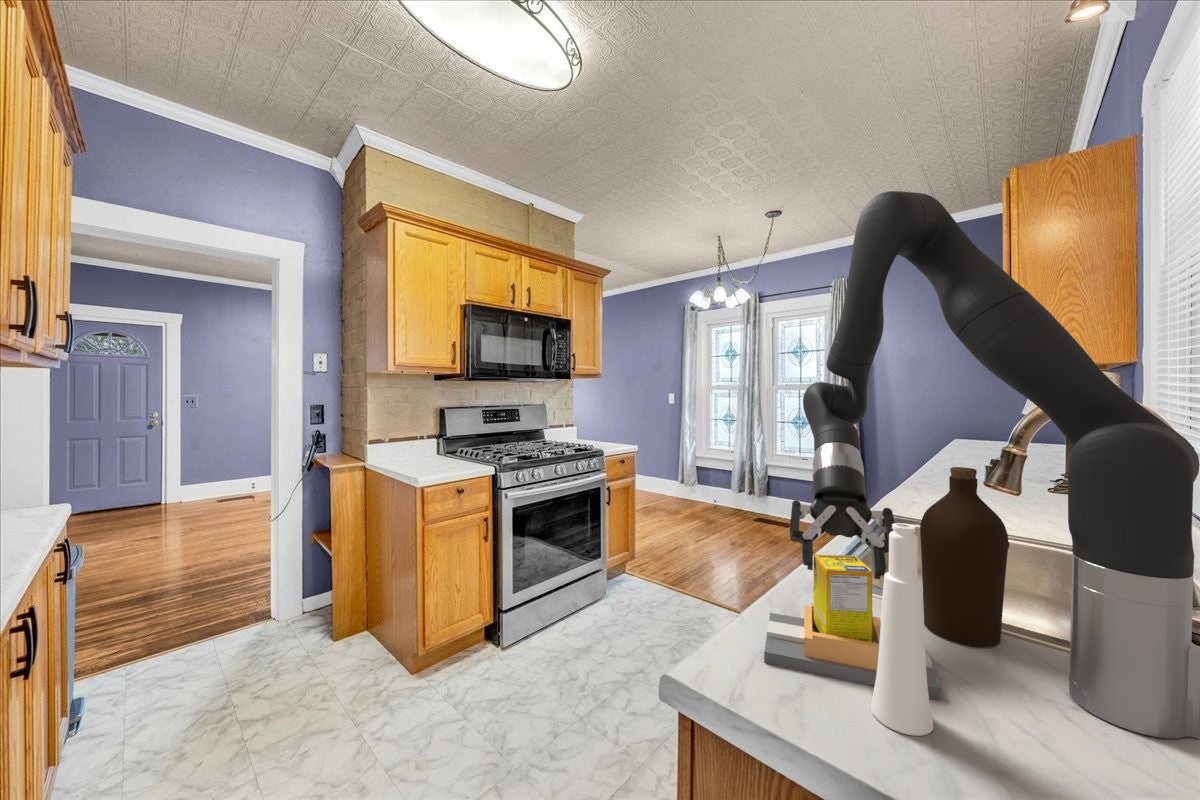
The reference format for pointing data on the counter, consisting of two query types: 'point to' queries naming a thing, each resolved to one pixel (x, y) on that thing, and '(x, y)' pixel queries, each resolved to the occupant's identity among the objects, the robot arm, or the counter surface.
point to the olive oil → (963, 565)
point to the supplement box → (842, 597)
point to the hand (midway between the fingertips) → (843, 572)
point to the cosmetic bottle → (902, 642)
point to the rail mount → (828, 651)
